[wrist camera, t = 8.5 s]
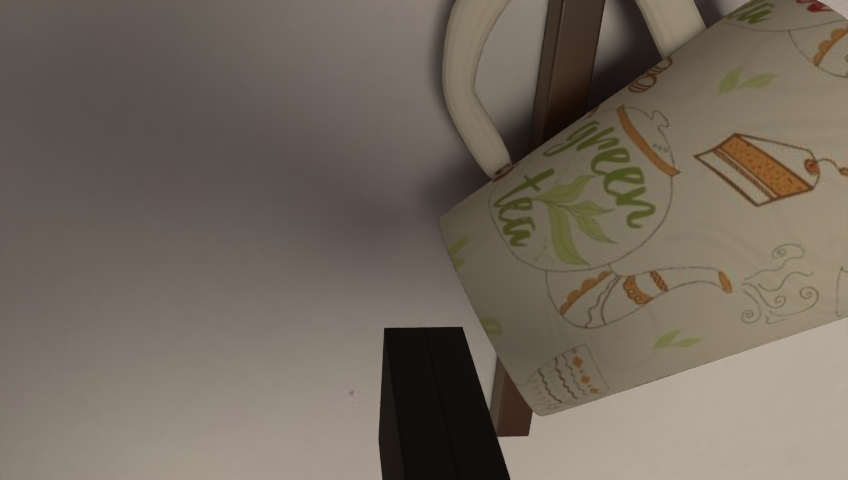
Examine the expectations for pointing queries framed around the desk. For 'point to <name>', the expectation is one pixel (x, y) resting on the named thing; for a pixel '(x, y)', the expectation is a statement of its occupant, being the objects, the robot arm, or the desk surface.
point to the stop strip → (554, 111)
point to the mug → (660, 203)
